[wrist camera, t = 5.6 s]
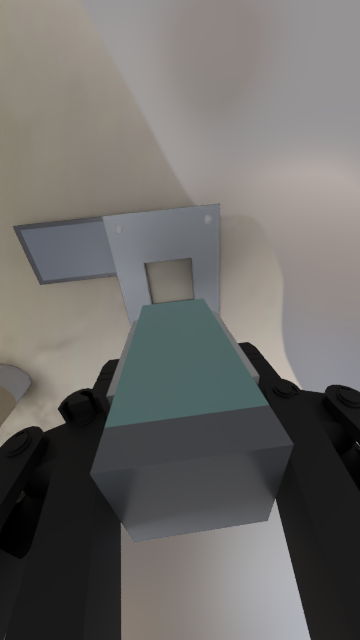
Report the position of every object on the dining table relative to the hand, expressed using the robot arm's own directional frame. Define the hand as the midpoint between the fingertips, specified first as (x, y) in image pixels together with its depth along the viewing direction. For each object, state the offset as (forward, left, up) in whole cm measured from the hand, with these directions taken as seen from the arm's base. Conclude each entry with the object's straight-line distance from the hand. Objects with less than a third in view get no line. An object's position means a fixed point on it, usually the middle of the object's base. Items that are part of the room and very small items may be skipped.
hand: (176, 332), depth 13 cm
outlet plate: (0, 0, -14) cm, 14 cm away
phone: (-6, -11, -14) cm, 19 cm away
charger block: (0, 0, -1) cm, 1 cm away
